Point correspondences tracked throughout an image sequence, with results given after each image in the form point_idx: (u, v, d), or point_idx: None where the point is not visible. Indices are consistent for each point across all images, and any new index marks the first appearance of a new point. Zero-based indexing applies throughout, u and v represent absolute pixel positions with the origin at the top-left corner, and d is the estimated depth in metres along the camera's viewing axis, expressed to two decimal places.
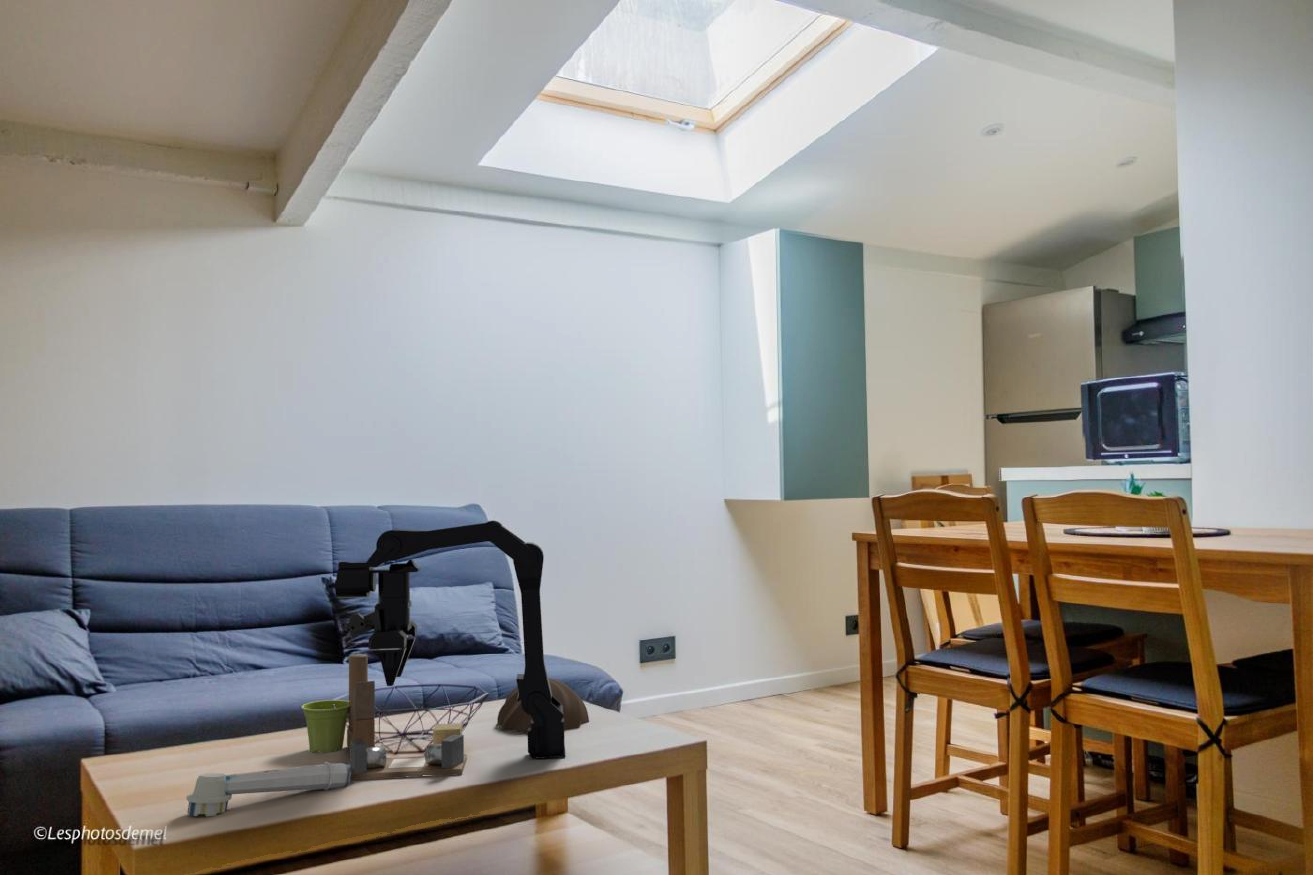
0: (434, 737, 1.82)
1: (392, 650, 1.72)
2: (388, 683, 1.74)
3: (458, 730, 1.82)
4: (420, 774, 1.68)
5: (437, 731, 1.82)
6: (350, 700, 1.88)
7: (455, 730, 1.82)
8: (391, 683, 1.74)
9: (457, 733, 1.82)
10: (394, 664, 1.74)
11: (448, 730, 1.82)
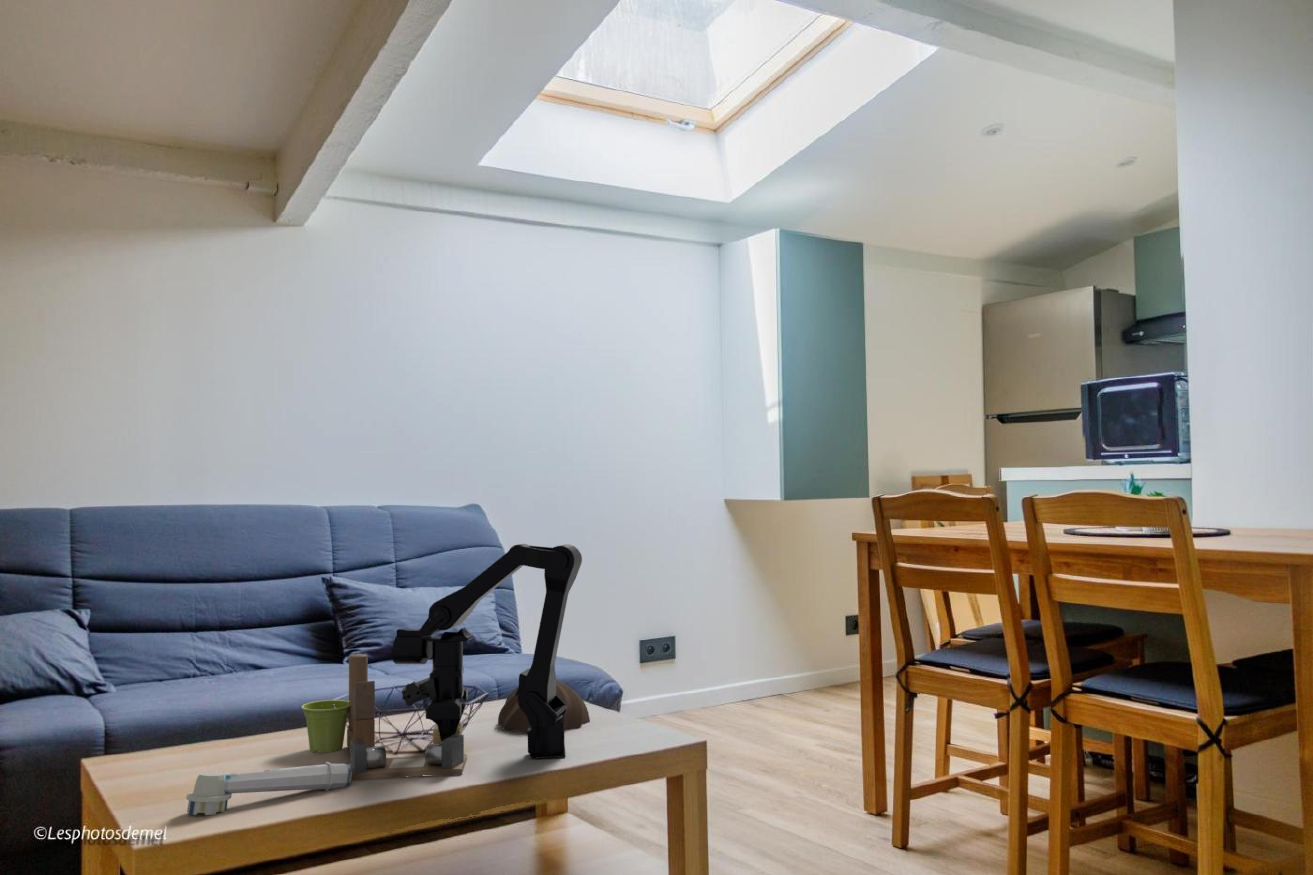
0: (434, 736, 1.82)
1: (449, 717, 1.79)
2: None
3: (458, 729, 1.82)
4: (420, 774, 1.68)
5: (437, 730, 1.82)
6: (350, 700, 1.88)
7: None
8: None
9: (457, 732, 1.82)
10: (450, 730, 1.81)
11: None
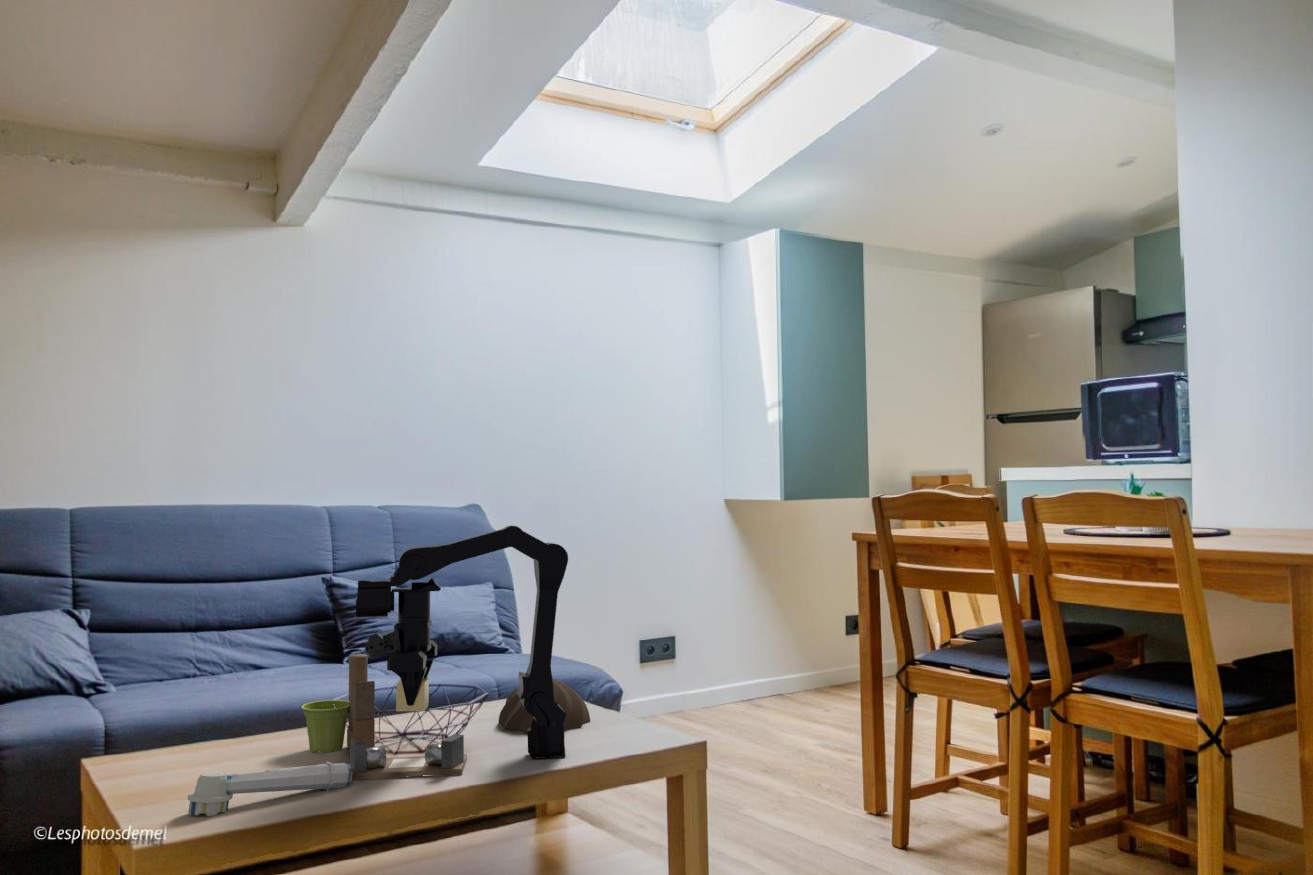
0: (397, 691, 1.73)
1: (413, 670, 1.70)
2: (408, 702, 1.73)
3: (423, 684, 1.74)
4: (420, 774, 1.68)
5: (401, 684, 1.73)
6: (350, 700, 1.88)
7: None
8: (411, 703, 1.73)
9: (422, 687, 1.74)
10: (414, 684, 1.72)
11: None
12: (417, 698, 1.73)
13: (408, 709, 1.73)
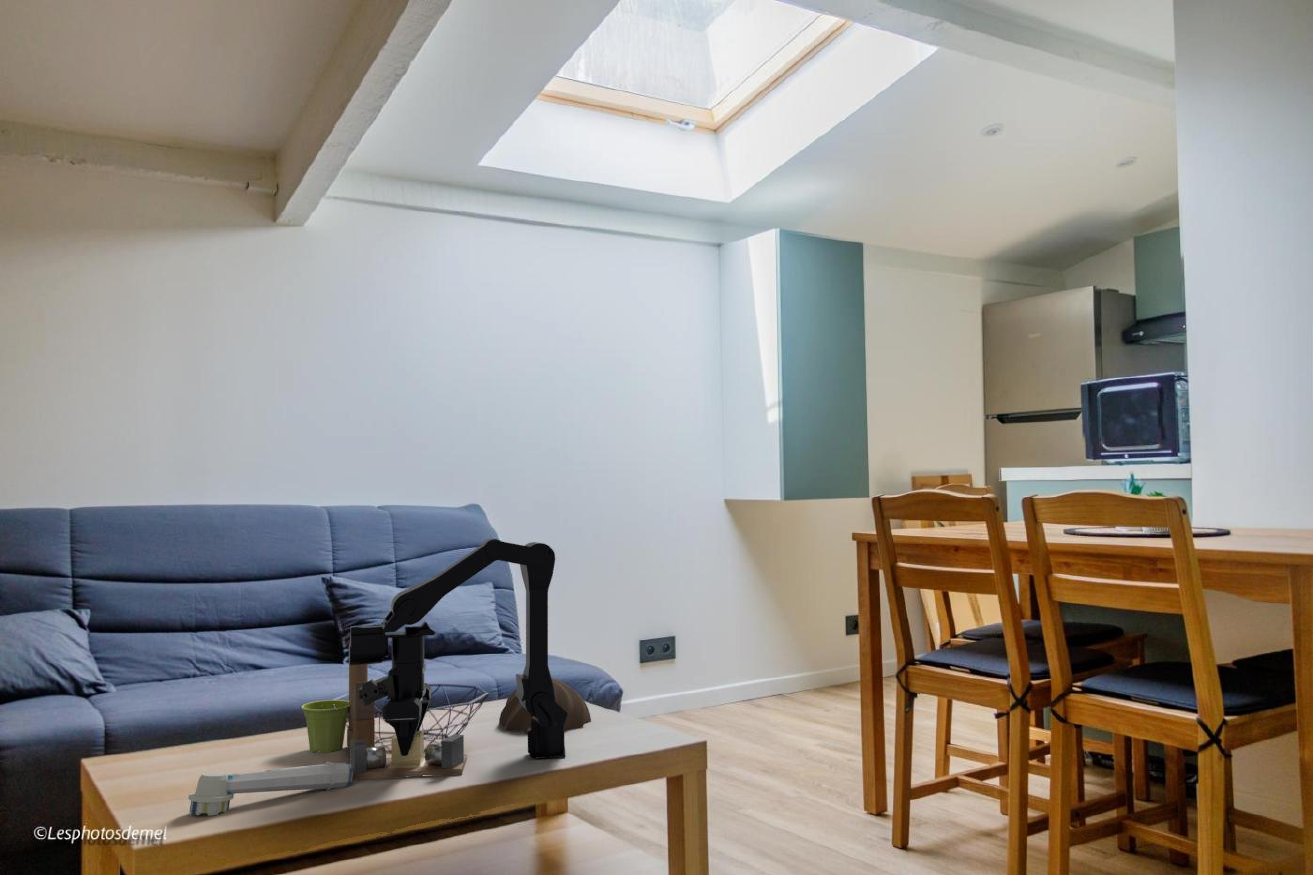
0: (393, 746, 1.71)
1: (407, 720, 1.66)
2: (402, 752, 1.68)
3: (418, 738, 1.71)
4: (420, 774, 1.68)
5: (396, 739, 1.71)
6: (350, 700, 1.88)
7: (415, 738, 1.71)
8: (406, 753, 1.68)
9: (417, 742, 1.71)
10: (408, 734, 1.68)
11: None
12: (413, 753, 1.71)
13: (404, 764, 1.71)
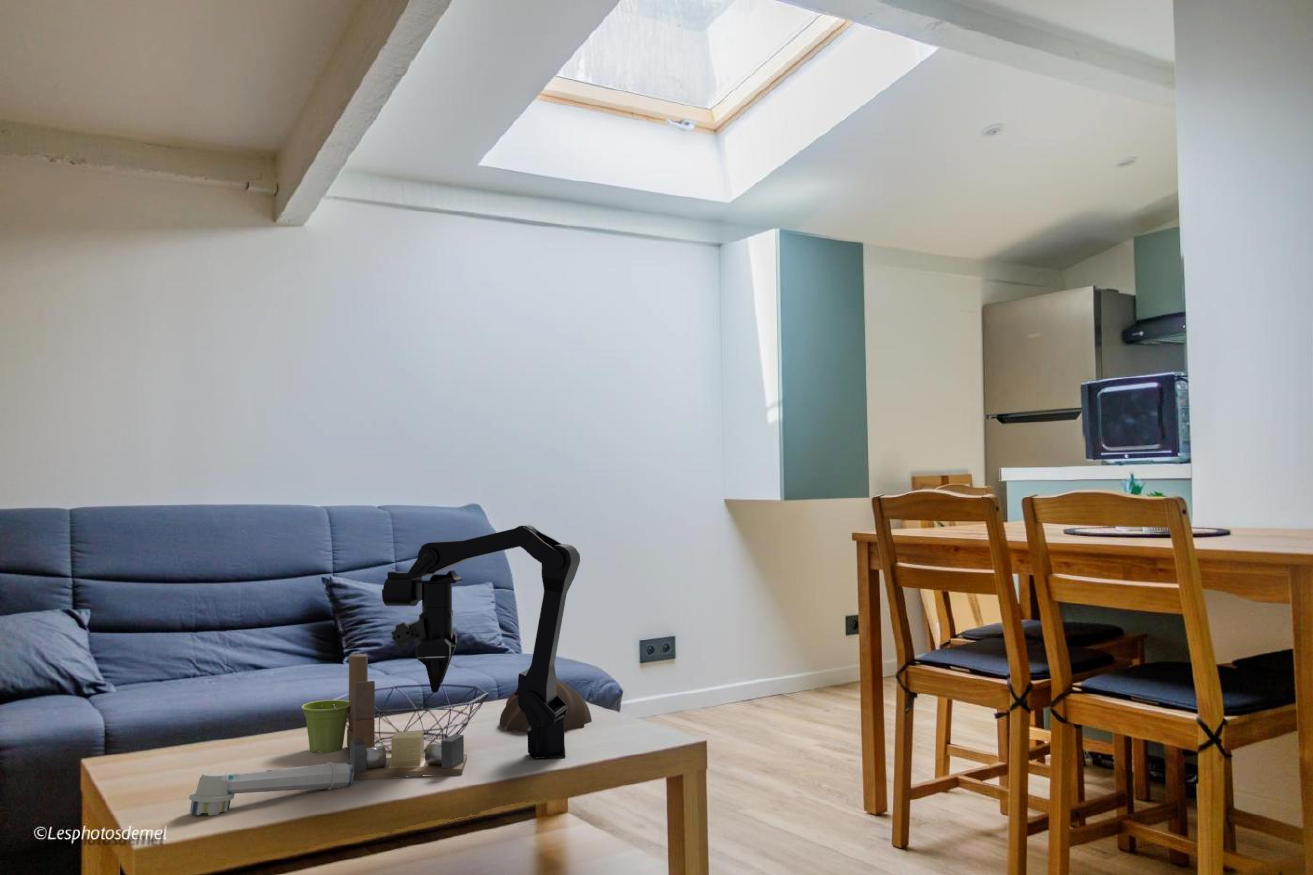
0: (393, 746, 1.71)
1: (438, 658, 1.79)
2: (433, 689, 1.81)
3: (418, 738, 1.71)
4: (420, 774, 1.68)
5: (396, 739, 1.71)
6: (350, 700, 1.88)
7: (415, 738, 1.71)
8: (436, 689, 1.81)
9: (417, 742, 1.71)
10: (439, 672, 1.81)
11: (407, 738, 1.71)
12: (413, 753, 1.71)
13: (404, 764, 1.71)
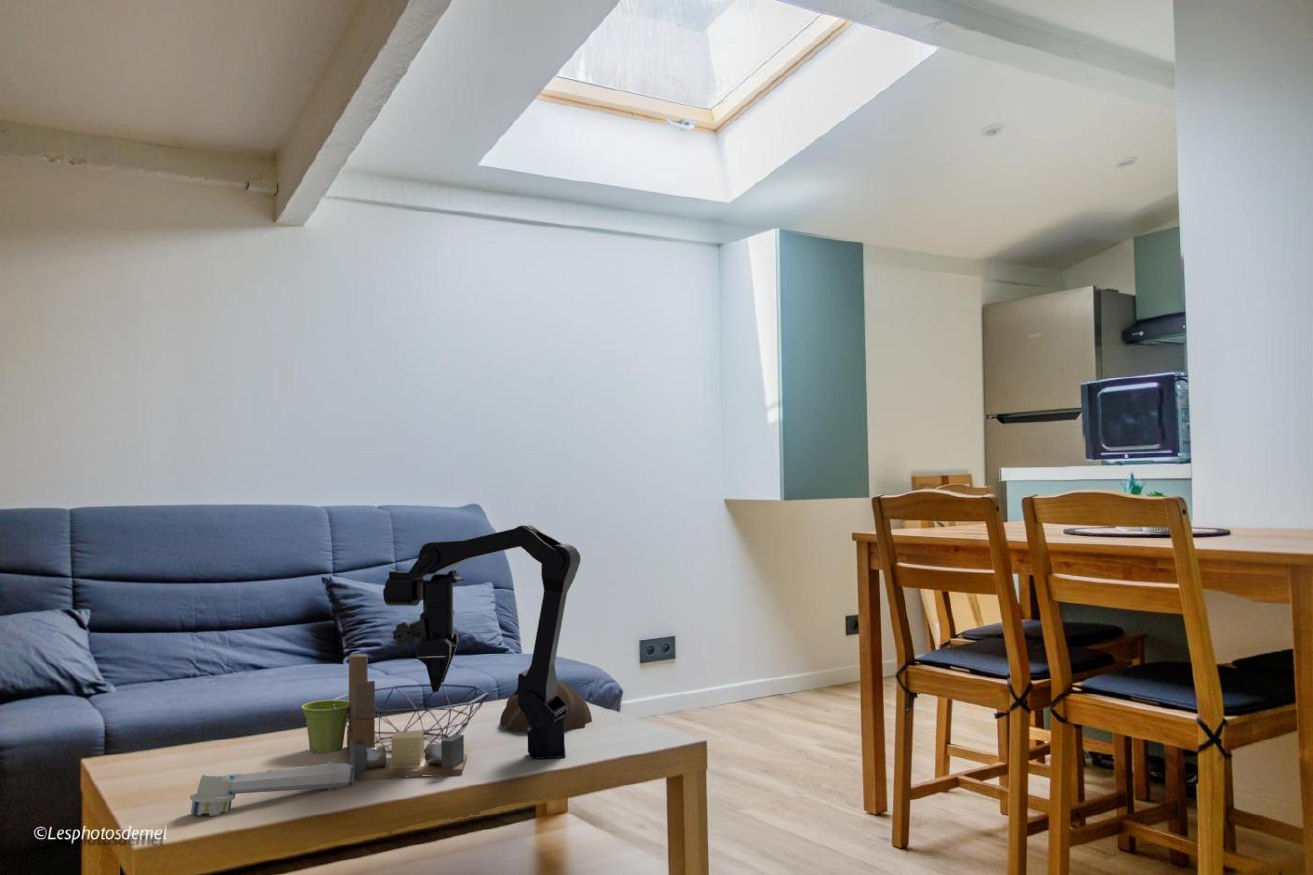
0: (393, 746, 1.71)
1: (438, 657, 1.79)
2: (433, 689, 1.82)
3: (418, 738, 1.71)
4: (420, 774, 1.68)
5: (396, 739, 1.71)
6: (350, 700, 1.88)
7: (415, 738, 1.71)
8: (436, 689, 1.82)
9: (417, 742, 1.71)
10: (439, 671, 1.81)
11: (407, 738, 1.71)
12: (413, 753, 1.71)
13: (404, 764, 1.71)
